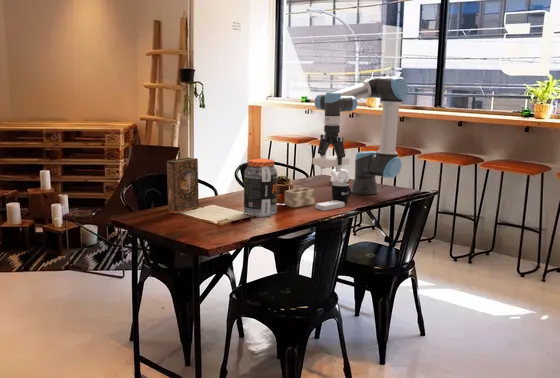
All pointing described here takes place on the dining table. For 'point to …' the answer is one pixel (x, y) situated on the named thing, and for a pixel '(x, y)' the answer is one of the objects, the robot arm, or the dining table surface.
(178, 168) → the book
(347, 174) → the white spiral shell
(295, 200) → the box
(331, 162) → the lid
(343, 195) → the mug
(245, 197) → the supplement tub
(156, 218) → the dining table surface
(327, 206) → the block
